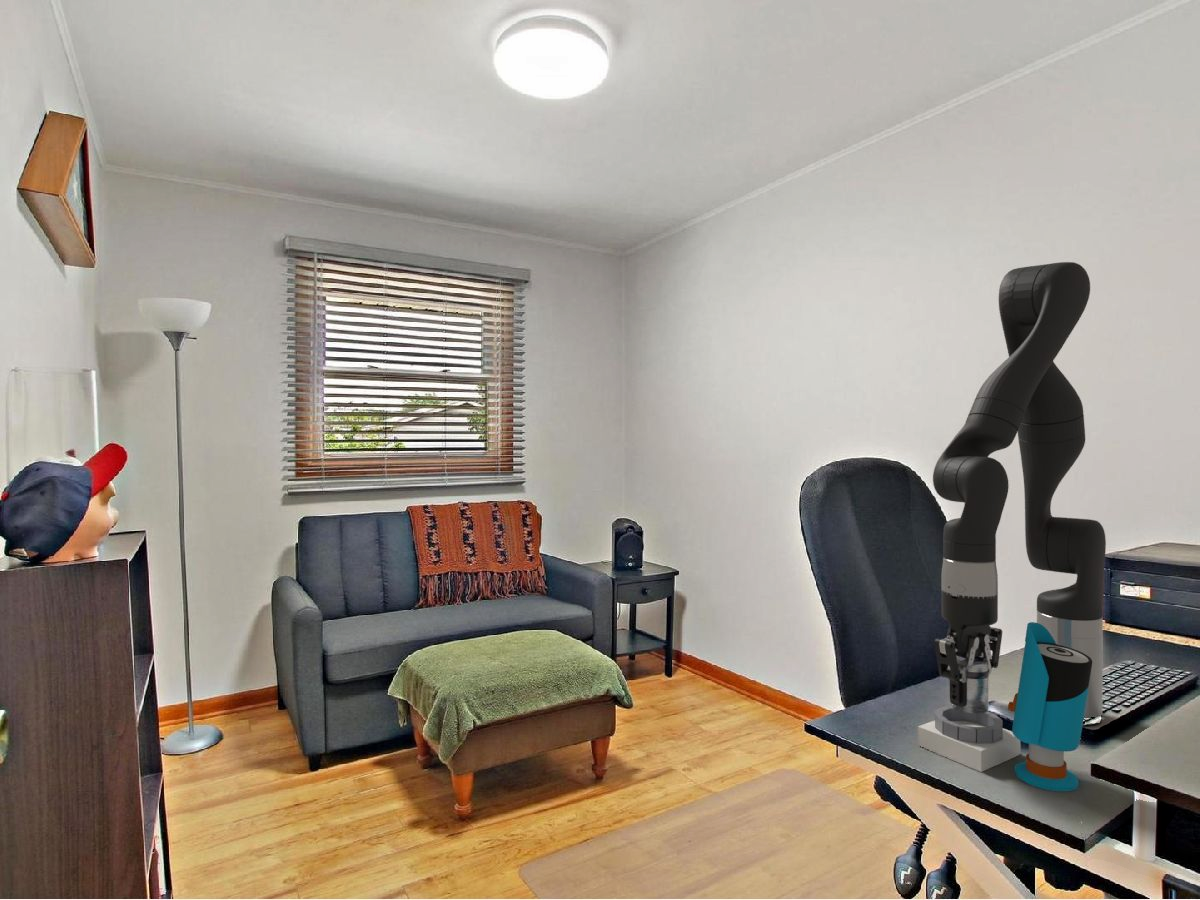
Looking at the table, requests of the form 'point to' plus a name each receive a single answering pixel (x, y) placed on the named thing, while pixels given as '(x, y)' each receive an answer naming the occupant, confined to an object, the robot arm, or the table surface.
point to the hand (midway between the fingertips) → (969, 700)
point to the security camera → (1049, 708)
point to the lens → (976, 687)
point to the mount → (969, 738)
